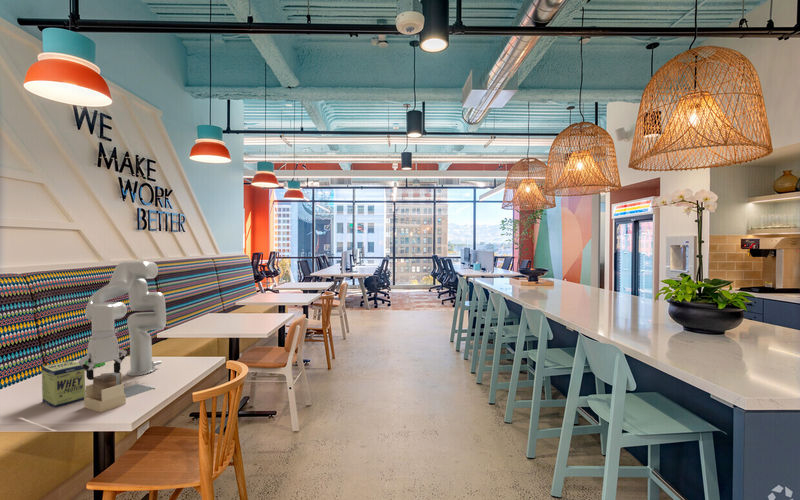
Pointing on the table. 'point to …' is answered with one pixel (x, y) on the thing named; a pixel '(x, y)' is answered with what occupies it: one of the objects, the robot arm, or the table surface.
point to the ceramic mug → (118, 377)
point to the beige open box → (105, 398)
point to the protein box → (63, 383)
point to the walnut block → (102, 384)
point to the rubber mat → (135, 389)
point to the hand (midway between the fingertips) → (104, 375)
